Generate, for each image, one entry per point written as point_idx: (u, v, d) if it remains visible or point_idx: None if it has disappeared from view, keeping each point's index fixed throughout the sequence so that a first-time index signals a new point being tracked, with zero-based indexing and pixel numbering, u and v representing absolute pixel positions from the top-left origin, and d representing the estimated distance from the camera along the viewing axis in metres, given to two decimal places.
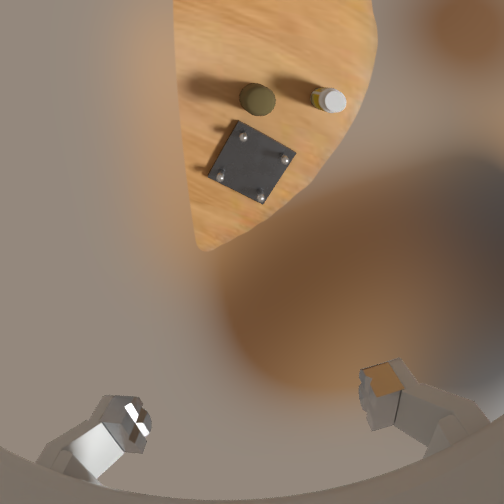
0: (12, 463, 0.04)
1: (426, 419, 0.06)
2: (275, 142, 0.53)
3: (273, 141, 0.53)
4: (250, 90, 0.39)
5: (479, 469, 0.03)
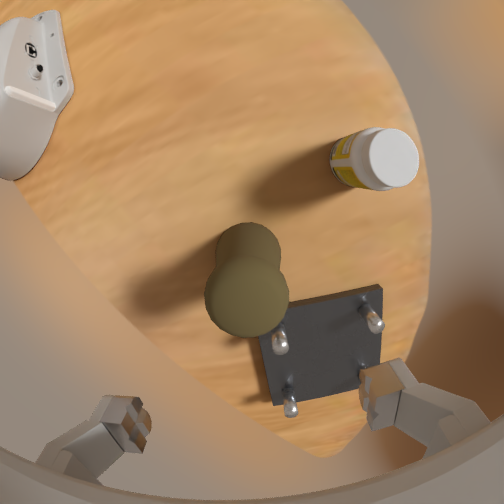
0: (12, 463, 0.04)
1: (426, 419, 0.06)
2: (338, 300, 0.26)
3: (334, 301, 0.26)
4: (207, 297, 0.16)
5: (479, 469, 0.03)
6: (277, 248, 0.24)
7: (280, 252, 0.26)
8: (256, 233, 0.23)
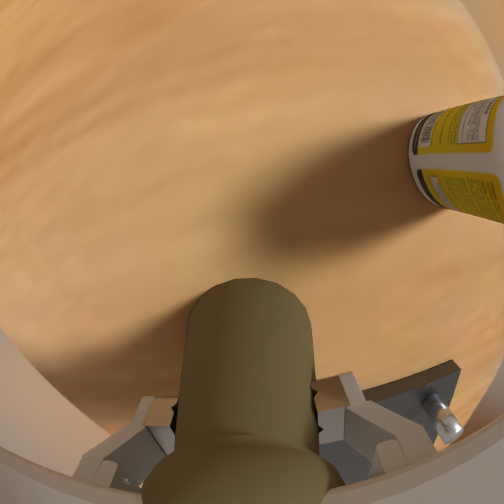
0: (12, 463, 0.04)
1: (371, 439, 0.06)
2: (398, 397, 0.13)
3: (391, 399, 0.13)
4: None
5: (479, 469, 0.03)
6: (309, 337, 0.11)
7: None
8: (266, 315, 0.10)
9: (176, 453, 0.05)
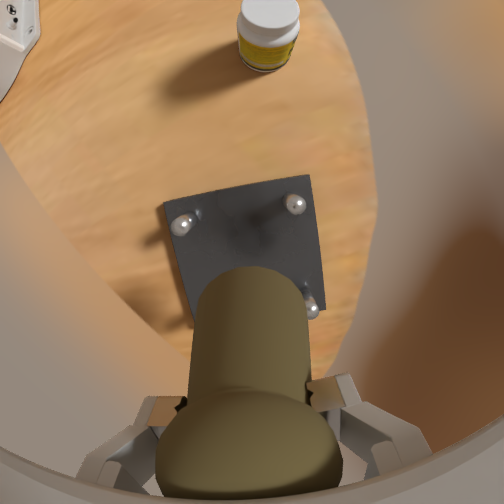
0: (12, 463, 0.04)
1: (367, 440, 0.06)
2: (255, 186, 0.24)
3: (250, 187, 0.24)
4: (159, 483, 0.05)
5: (479, 469, 0.03)
6: (304, 317, 0.13)
7: None
8: (265, 296, 0.12)
9: (190, 404, 0.07)
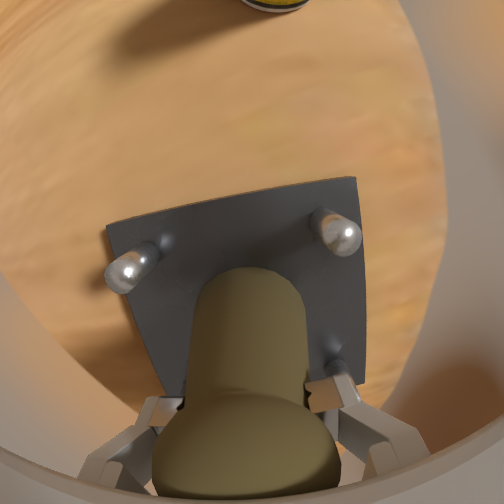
0: (12, 463, 0.04)
1: (365, 441, 0.06)
2: (261, 196, 0.13)
3: (252, 198, 0.13)
4: (155, 486, 0.05)
5: (479, 469, 0.03)
6: (302, 318, 0.13)
7: None
8: (263, 297, 0.12)
9: (187, 407, 0.06)
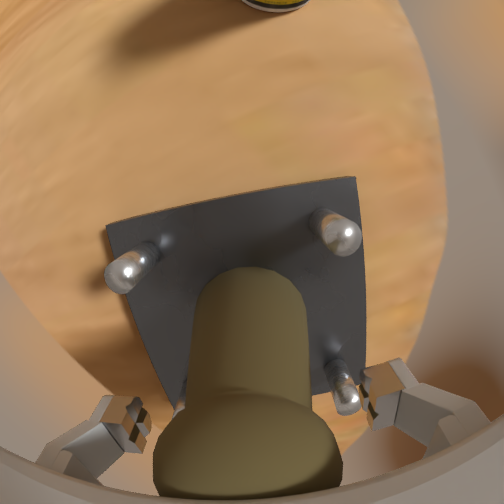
0: (12, 463, 0.04)
1: (426, 419, 0.06)
2: (261, 196, 0.13)
3: (251, 198, 0.13)
4: (157, 486, 0.05)
5: (479, 469, 0.03)
6: (303, 318, 0.13)
7: None
8: (264, 296, 0.12)
9: (188, 406, 0.06)
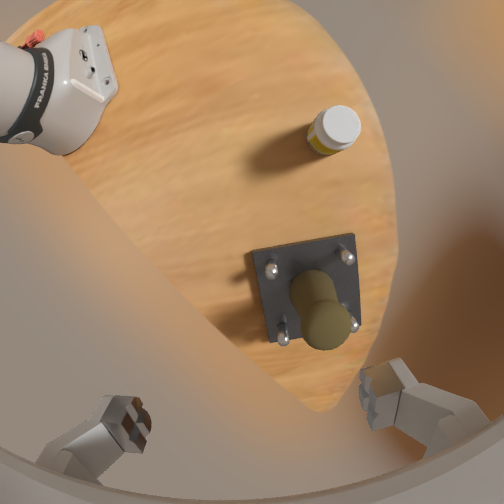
0: (12, 463, 0.04)
1: (426, 419, 0.06)
2: (318, 242, 0.35)
3: (315, 243, 0.35)
4: (305, 327, 0.26)
5: (479, 469, 0.03)
6: None
7: None
8: (322, 279, 0.33)
9: (311, 304, 0.28)
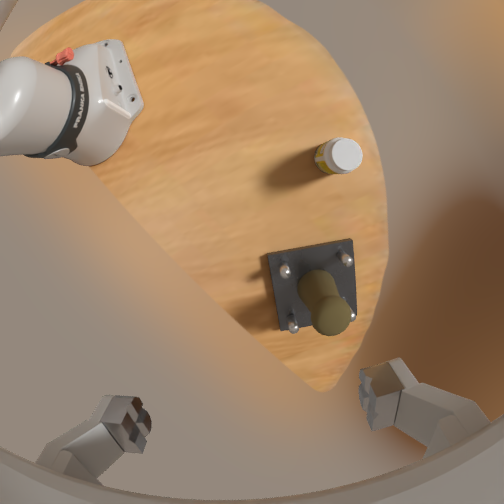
0: (12, 463, 0.04)
1: (426, 419, 0.06)
2: (322, 247, 0.41)
3: (319, 247, 0.42)
4: (315, 317, 0.33)
5: (479, 469, 0.03)
6: (335, 285, 0.41)
7: None
8: (325, 278, 0.40)
9: (319, 299, 0.35)
